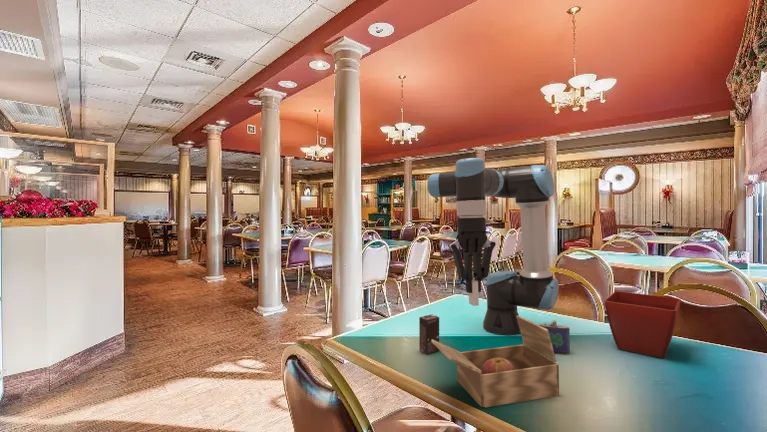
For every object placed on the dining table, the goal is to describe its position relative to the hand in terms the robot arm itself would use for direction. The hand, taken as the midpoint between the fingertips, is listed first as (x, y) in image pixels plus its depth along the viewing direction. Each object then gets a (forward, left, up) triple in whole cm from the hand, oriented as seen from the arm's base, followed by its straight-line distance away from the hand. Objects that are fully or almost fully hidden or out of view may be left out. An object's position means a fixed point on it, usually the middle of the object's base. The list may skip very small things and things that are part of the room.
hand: (473, 304), depth 97 cm
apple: (-7, 0, -24) cm, 25 cm away
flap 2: (-19, 0, -15) cm, 25 cm away
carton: (-9, 0, -24) cm, 25 cm away
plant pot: (-68, -11, -24) cm, 73 cm away
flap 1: (+2, 0, -15) cm, 15 cm away
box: (+2, -30, -24) cm, 38 cm away
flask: (-38, -17, -24) cm, 48 cm away
